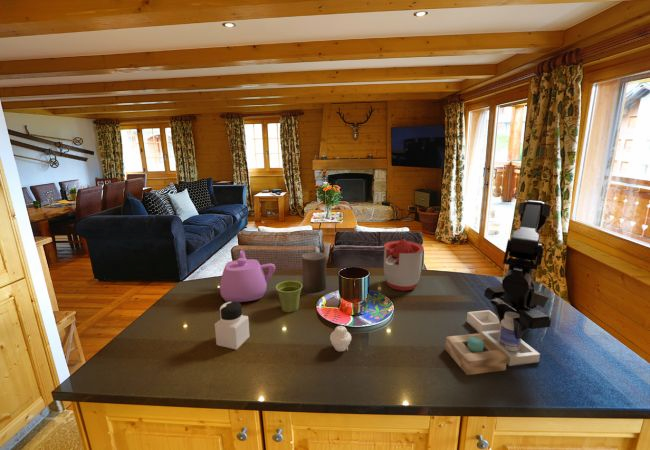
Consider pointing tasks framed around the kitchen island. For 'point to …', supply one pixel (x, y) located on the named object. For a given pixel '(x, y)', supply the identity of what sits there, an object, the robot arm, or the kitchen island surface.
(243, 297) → the teapot
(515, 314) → the pill bottle
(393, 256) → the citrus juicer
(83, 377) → the kitchen island surface
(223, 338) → the medicine bottle
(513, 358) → the shallow white tray
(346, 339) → the white rounded piece
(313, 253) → the pillar candle
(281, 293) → the plant pot
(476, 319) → the white tray box
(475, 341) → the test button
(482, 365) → the square wooden tray
